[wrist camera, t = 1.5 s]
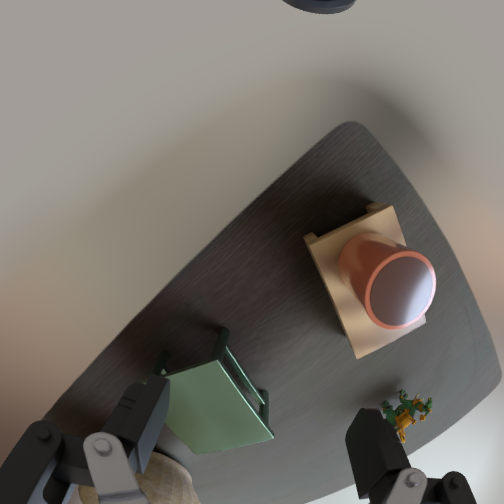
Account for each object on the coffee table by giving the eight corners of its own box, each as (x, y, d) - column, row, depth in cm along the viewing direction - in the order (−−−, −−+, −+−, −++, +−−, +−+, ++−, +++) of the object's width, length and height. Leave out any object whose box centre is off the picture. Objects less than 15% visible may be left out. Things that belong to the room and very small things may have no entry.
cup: (328, 248, 26) (353, 275, 18) (383, 221, 25) (426, 236, 17) (350, 302, 27) (377, 343, 19) (401, 275, 26) (442, 306, 18)
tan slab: (302, 236, 30) (309, 246, 26) (374, 201, 29) (392, 205, 24) (346, 337, 33) (356, 359, 28) (408, 305, 32) (426, 322, 27)
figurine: (423, 385, 35) (444, 418, 27) (361, 429, 37) (373, 465, 29) (416, 376, 34) (439, 410, 26) (352, 421, 36) (364, 459, 28)
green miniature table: (156, 350, 35) (133, 386, 27) (227, 322, 33) (217, 359, 25) (206, 415, 37) (196, 455, 29) (273, 396, 35) (274, 438, 28)
